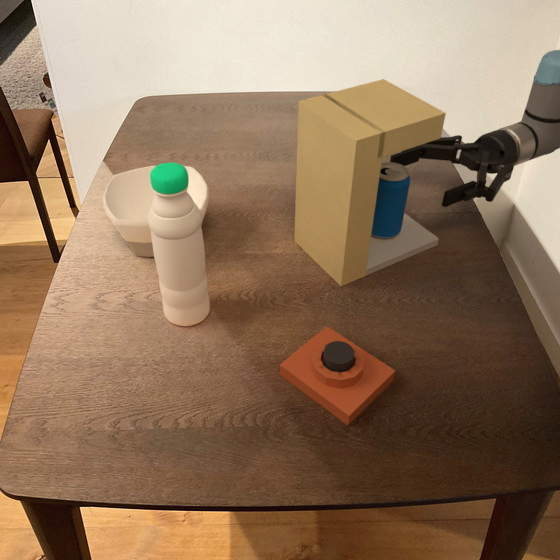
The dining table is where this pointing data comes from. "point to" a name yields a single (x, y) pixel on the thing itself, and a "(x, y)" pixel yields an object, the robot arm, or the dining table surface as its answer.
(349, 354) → the button
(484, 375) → the dining table surface
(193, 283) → the water bottle
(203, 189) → the bowl
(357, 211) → the coffee maker
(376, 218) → the beverage can
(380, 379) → the brew pad
